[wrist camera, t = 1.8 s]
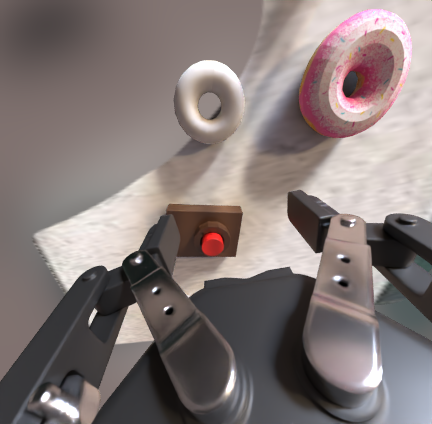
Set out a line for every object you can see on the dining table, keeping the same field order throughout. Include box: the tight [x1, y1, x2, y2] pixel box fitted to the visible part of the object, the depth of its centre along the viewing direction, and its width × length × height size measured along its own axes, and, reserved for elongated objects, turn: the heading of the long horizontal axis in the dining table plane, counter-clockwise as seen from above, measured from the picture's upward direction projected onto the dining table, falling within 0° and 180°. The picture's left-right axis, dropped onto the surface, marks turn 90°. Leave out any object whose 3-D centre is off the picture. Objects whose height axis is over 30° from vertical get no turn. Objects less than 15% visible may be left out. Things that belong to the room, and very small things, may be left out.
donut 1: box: [174, 61, 245, 144], centre depth 25 cm, size 10×3×10 cm
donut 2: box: [299, 9, 412, 138], centre depth 24 cm, size 14×13×5 cm
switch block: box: [166, 204, 243, 257], centre depth 35 cm, size 14×11×4 cm
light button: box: [202, 232, 224, 256], centre depth 32 cm, size 4×4×2 cm
